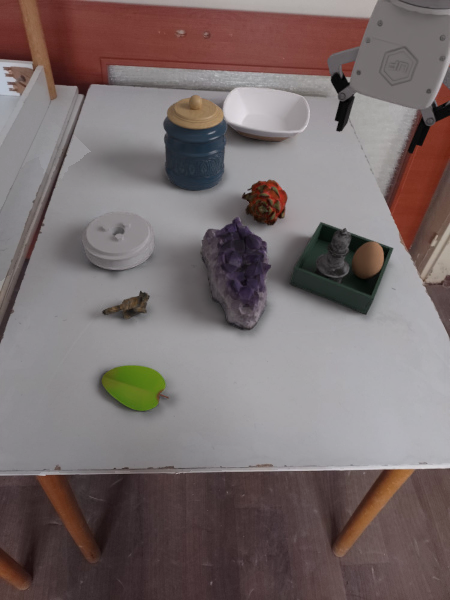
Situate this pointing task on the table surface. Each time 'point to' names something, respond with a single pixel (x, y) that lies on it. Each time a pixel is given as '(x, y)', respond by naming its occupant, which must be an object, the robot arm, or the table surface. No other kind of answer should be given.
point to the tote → (352, 288)
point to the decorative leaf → (135, 386)
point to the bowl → (266, 113)
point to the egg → (368, 260)
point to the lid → (118, 240)
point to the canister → (194, 143)
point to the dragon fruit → (266, 202)
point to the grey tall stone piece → (335, 257)
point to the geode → (237, 272)
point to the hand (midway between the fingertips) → (376, 137)
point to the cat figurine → (130, 306)
